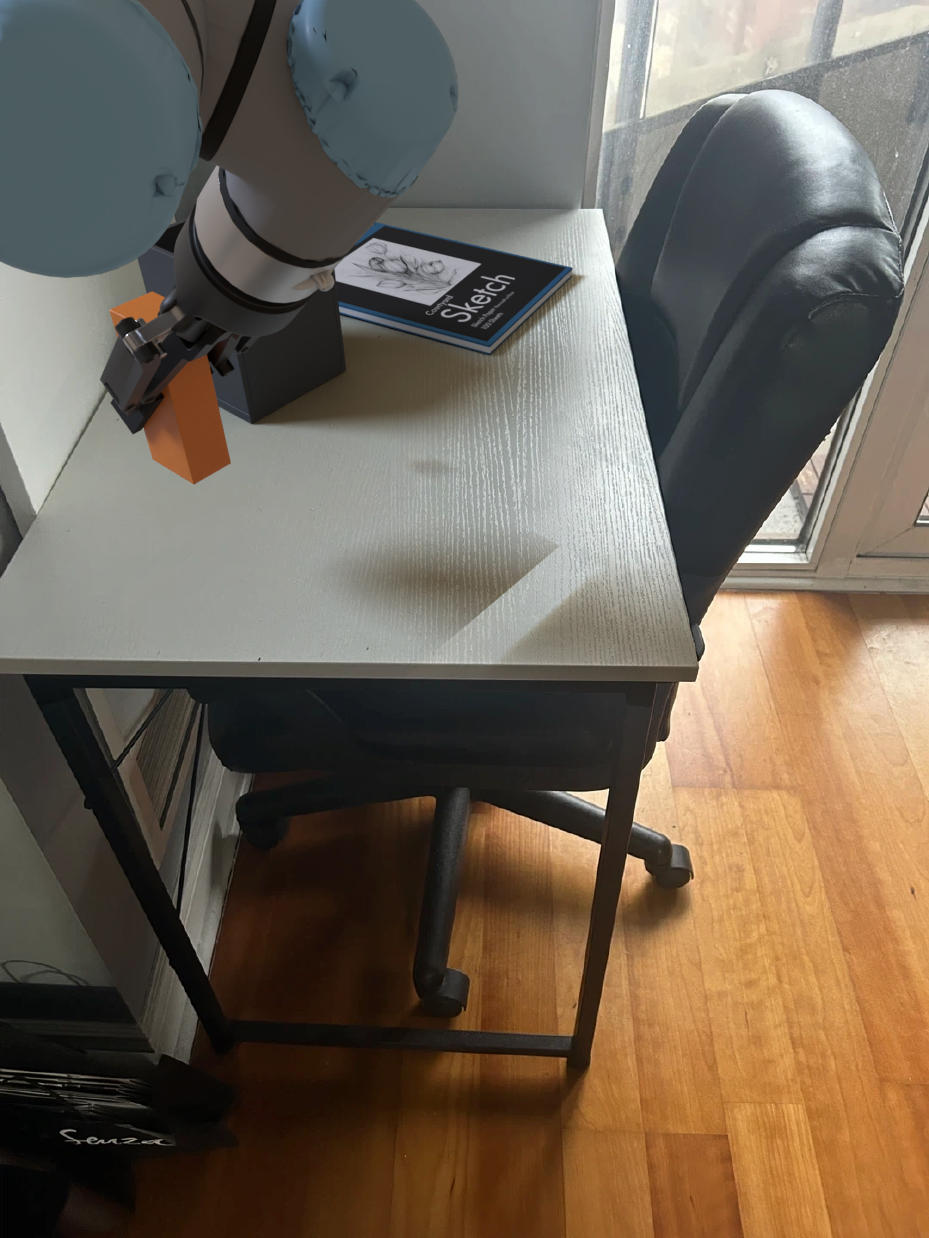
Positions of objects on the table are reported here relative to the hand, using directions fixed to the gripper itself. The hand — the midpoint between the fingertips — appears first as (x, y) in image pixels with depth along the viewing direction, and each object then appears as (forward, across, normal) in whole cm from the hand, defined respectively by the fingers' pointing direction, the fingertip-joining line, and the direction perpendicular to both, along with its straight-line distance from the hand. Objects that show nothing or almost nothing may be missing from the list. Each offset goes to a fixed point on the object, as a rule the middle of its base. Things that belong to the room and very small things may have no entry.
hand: (149, 404), depth 70 cm
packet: (0, 0, -5) cm, 5 cm away
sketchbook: (+22, +49, +2) cm, 54 cm away
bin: (+22, +22, +2) cm, 31 cm away
